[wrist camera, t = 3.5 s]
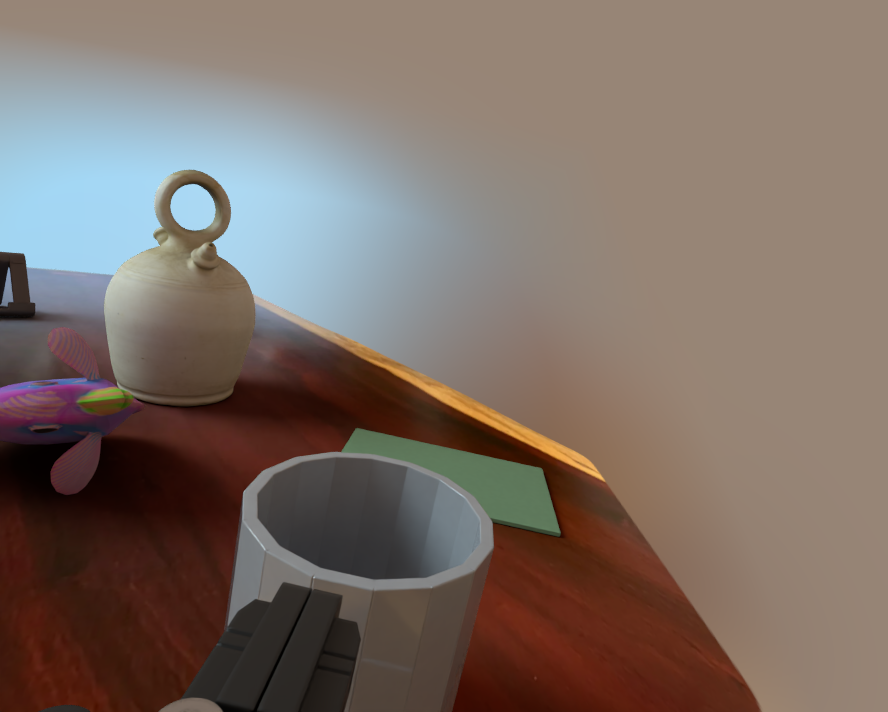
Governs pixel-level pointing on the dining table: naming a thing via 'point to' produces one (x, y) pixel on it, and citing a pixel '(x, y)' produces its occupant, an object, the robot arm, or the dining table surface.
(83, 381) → the decorative fish
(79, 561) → the dining table surface
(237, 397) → the dining table surface
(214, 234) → the jug
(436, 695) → the faceted pen holder
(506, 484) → the cloth
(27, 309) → the tablet stand
